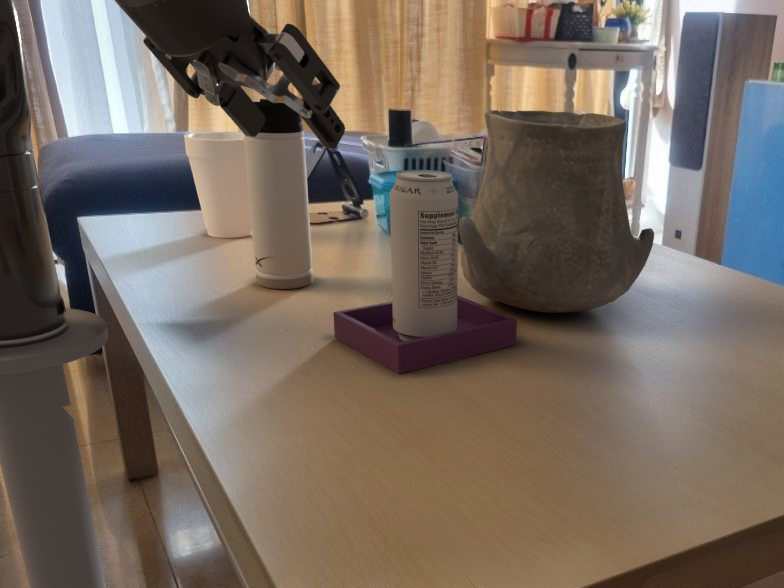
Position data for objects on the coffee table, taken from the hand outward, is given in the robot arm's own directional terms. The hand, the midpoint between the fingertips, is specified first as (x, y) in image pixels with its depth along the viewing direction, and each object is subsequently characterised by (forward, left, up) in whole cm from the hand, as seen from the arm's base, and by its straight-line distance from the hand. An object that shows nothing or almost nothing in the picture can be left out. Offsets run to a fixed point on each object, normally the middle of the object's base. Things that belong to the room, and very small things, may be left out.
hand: (296, 134), depth 67 cm
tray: (+11, -3, -19) cm, 22 cm away
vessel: (+30, +2, -19) cm, 35 cm away
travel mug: (+9, +23, -19) cm, 31 cm away
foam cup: (+14, +50, -19) cm, 55 cm away
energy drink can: (+10, -3, -19) cm, 22 cm away
